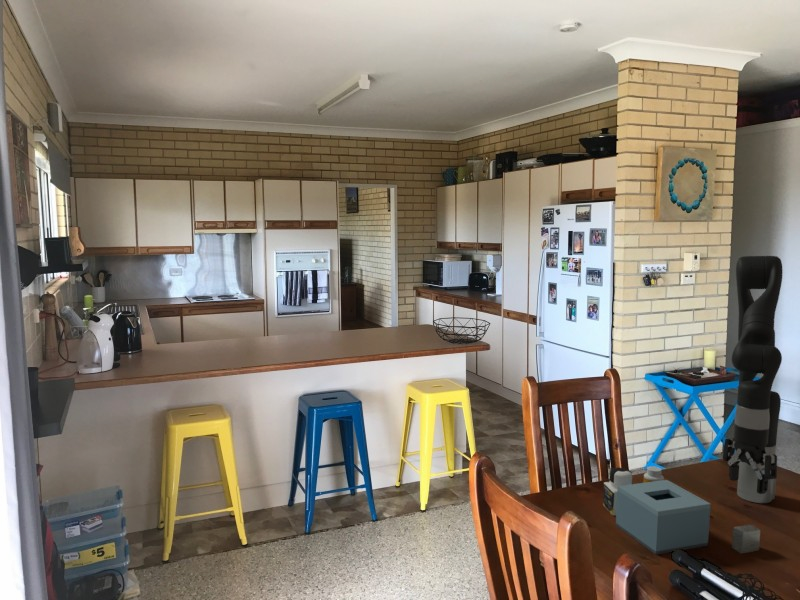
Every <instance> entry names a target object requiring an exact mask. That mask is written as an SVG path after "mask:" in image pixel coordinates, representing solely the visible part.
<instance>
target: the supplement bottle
mask: <svg viewBox="0 0 800 600" xmlns="http://www.w3.org/2000/svg"><path fill="white" fill-rule="evenodd" d="M661 480H665V477H664V475H663V474H662V468H660V467H658V466H651V465H650V466H647V467H646V472H645V473H644V474H643V482H642V483H646V482H654V481H661Z"/></svg>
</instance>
